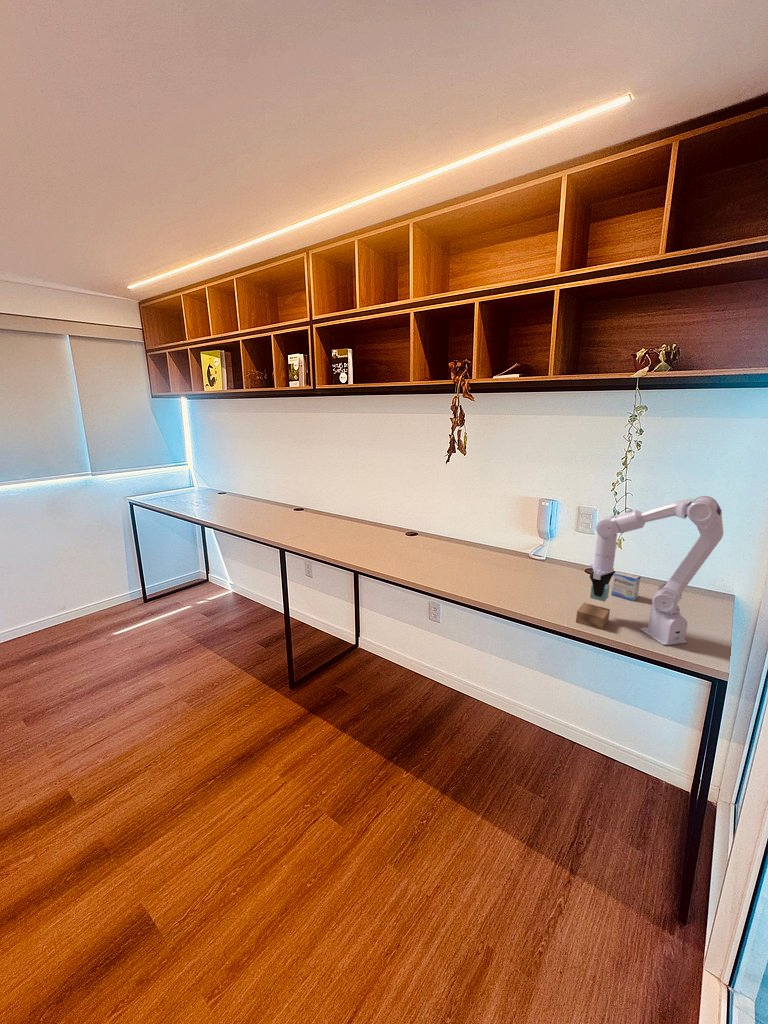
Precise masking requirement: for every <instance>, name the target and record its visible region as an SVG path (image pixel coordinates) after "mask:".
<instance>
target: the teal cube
mask: <svg viewBox="0 0 768 1024" xmlns="http://www.w3.org/2000/svg"><path fill="white" fill-rule="evenodd" d="M609 593H610V584H606V585H605V588H604V591H603V594H602V596H601V597H599V596H595V595H594V590H593V584H591V588H590V597H589V598H590V599H593V600H595V601H596V600H597V601H600V602H606V601H607V599H608V598H609Z"/></svg>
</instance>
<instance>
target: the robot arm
mask: <svg viewBox="0 0 768 1024" xmlns="http://www.w3.org/2000/svg"><path fill="white" fill-rule="evenodd" d="M722 511H723V510H722V508H721V506H720V505H719V503H718V502H717V500H716V499H715V498H713V497H711V496H708V495H700V496H698V497H695V498H694V497H692V498H691V497H690V498H687V499H682V500H678V501H674V502H672V503H668V504H664V505H661V506H659V507H656V508H652V509H650V510H645V511H640V510H638V509H635V510H633V509H632V508H631V509H630V508H629V509H627V510H626V512H623V513H620V514H617V515H615V514H612V515H610V517H608V516H607V517H605V518H602V520H600V521H598V522H597V525H596V526H595V531H596V533H597V538H596V543H595V551H594V552H595V553H594V559H593V560H594V561H593V563H590V564H589V568H592V571H593V573H590V574H589V579H590V581H591V583H592V584H591V585H593V590H594V595H595V596H599V597H601V596H602V594H603V591H604V588H605V585H606V584H608V585H610V582H611V579H612V577H614V573H616V572H615V570H614V569H615V568H614V565H615V556H616V550H617V538H618V534H623V533H627V532H631V531H635V530H638V529H643V528H644V527H645V525H646V523H649V522H653V521H658V520H663V519H665V518H666V519H667V518H670V517H676V518H677V517H678V518H681V519H684V520H686V518H688V519H689V520H690V521H691V522H692V523H693V524H694V525H695V526H696V529H697V530H698V532H699V534H700V536H699V537H698V538H697V540H696V541H695V542H694V544H693V545H692V547H691V548H690V549H689V551H688V552H687V554H686V555H685V556H684V558H683V560H682V561H681V562H680V564H679V565H678V567H677V568H676V569H675V570H674V572H673V574H672V575H671V576H670V578H669V579H668V581H667V582H665V583H664V584H661V585H659V587H658V588H657V591H656V593H654V595H652V598H651V602H652V603H651V607H650V614H649V619H648V626H647V627H641V628H640V631H642V632H643V633H645V634H646V635H648V636H649V637H651V638H652V639H654V640H655V641H657V642H659V643H660V644H661V645H663V646H669V645H677V644H678V645H679V644H686V643H687V640H686V636H687V635H686V633H687V628H688V621H687V619H686V618H685V617H684V616H683V615H682V614H681V612H680V610H681V608H680V606H679V602H680V601H681V599H682V598H683V597H682V596H683V592H684V591H685V589H686V588H687V586H688V585H689V583H690V582H691V581H692V579H693V578H694V577H695V575H696V574H697V572H698V571H699V570H700V568H701V567H702V565H703V564H704V563H705V562H706V561H707V559H708V558H709V556H710V555H711V553H712V552H713V551H714V550H715V548H716V547H717V545H718V544H719V542H720V541H721V540H722V538H723V536H724V525H723V524H724V523H723V515H722V513H723V512H722Z"/></svg>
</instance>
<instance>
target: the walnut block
mask: <svg viewBox="0 0 768 1024" xmlns="http://www.w3.org/2000/svg"><path fill="white" fill-rule="evenodd" d="M610 612H611V608H607V607H602V606H599V605H594V604H592V603H587V602H583V603H582V605H581V606H580V607H579V608H578V609H577V611H576V616H575V617H576V618H575V623H577V624H581V625H585V626H588V627H591V628H595V629H598V630H602V631H603V630H604V628H605V626H607V623H608V622H609V620H610V619H609V618H610Z"/></svg>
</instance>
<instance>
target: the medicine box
mask: <svg viewBox="0 0 768 1024" xmlns="http://www.w3.org/2000/svg"><path fill="white" fill-rule="evenodd" d="M612 577H613V578H612V586H611V591H610V595H611V596H613V597H618V598H620V599H624V600H629V601H632V602H634V601H635V600H636V599H637V598H638V597H639V589H640V581H641V576H640V575H636V574H632V573H628V572H625V571H620V570H617V571H616V572H615V573H614V575H613V576H612Z"/></svg>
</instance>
